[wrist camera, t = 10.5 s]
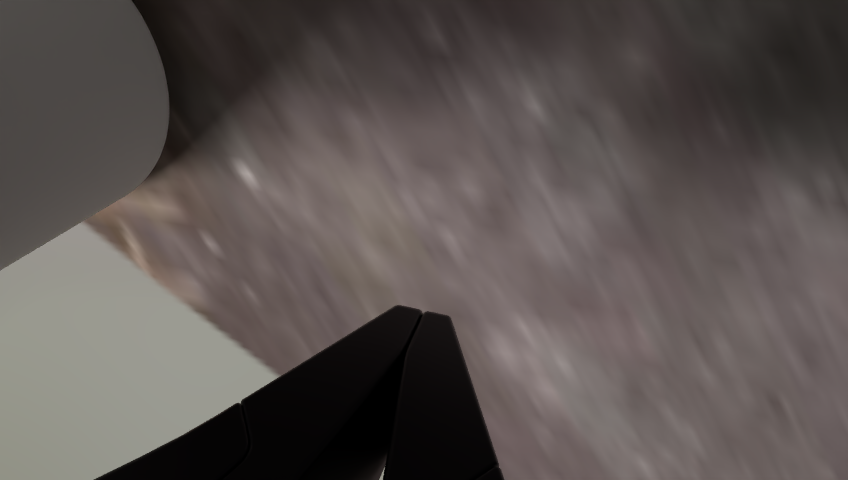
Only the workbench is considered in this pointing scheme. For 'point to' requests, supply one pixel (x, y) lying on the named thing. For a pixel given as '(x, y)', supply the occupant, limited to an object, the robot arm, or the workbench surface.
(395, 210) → the workbench surface
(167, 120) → the beverage can
